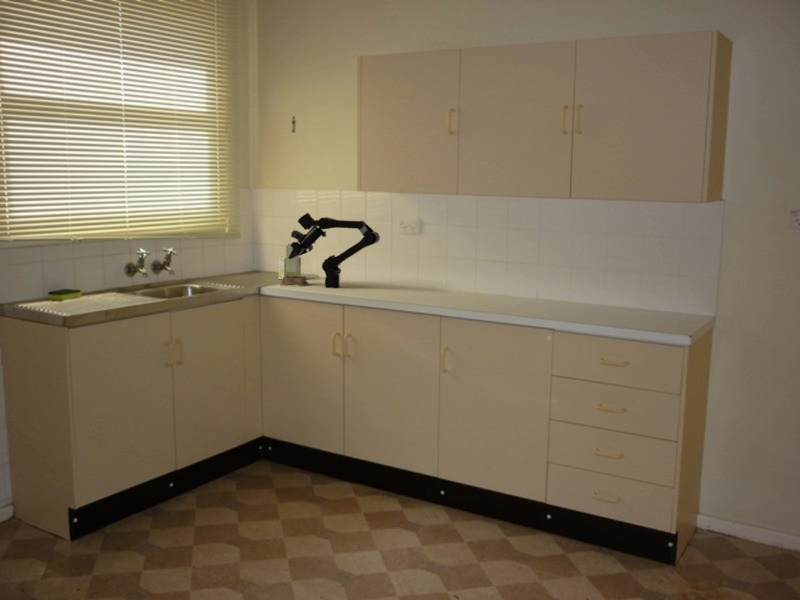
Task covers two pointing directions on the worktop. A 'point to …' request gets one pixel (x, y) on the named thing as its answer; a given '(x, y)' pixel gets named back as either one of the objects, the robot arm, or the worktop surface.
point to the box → (283, 268)
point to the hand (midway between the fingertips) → (290, 258)
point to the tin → (291, 260)
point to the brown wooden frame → (294, 280)
